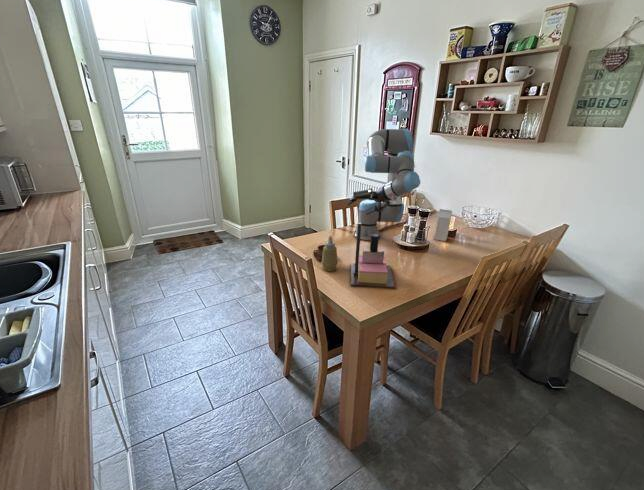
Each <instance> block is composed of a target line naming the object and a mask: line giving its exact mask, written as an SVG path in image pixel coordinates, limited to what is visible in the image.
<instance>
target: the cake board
mask: <svg viewBox="0 0 644 490" xmlns="http://www.w3.org/2000/svg"><path fill="white" fill-rule="evenodd" d="M357 226H358V228H357V227H356V228H357V238H356V243H355V245H356V246H355V258H354V263H350V287H354V288H355V287H357V288H371V289H392V290H395V289H396V286H395V281H394V277H393V274H392V269H391V266H390V264H389V265H388V264H386V266H387V270H388V277H387V284H381V283H363V282H359V281H358V263H359V255H360V248H361V239H360V235H361V223H358V222H357Z"/></svg>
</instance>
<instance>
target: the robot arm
mask: <svg viewBox="0 0 644 490" xmlns="http://www.w3.org/2000/svg"><path fill="white" fill-rule="evenodd" d="M413 141H414V139H413V133H412V131H411V130H409V129H403V128H402V129H401V128H399V129H398V128H397V129H396V128H382V129H378V130H376V131H373V133H371V134H370V135H369V136H368V138H367V140H366V148H367V150H368V155H366V156H365V159H364V172H366V173H371V174H387V180H386V184H385V185H382V186H380V187H378V189H377V190H376V191H375V190H373V188H368V189H364V190H357V191H353V192H352V196H351V197H349V198H348V199H347V200H346V205H347V206H349V205H351V204H353V203H356V202H357V201H358V200H362V201H360V203H359V207H358V222H357V224H358V223H361V235H360V241H371V235H372V234H378V235H379V236H380V233H379V232H381V231H383V230H384V229H387V228H391V227H395V226H399V225H402V224H406V223H408V222H407V221H408V220H405V221H402V219H403V216H404V210H405V204H404V203H403V200H402V199H401V196H402V195H404V194H405V195H406V194H407V193H410V192H413V191H414V190H416V189H417V188H419V187H420V185H421V179H420V175H419V174H418V173H417V172H416V171H415V157H414V154H413V143H414V142H413ZM385 152H387V155H385ZM434 212H436V209H433V210H432V211H430V212H429V213H430V214H432V213H434ZM401 221H402V222H401ZM379 222H381V223H382V222H383V223H392V224H391V225H387V226H384V227H382V228H381V229H378V223H379ZM393 223H394V224H393ZM357 228H358V225H357V226H356V229H355V230H354V237H355V238H356V239H357Z"/></svg>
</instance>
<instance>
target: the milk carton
mask: <svg viewBox="0 0 644 490" xmlns="http://www.w3.org/2000/svg"><path fill="white" fill-rule="evenodd" d="M452 213H453V210H451V209H443V208H439V211H438V215H437V219H436V220H437V221H436V226H435V231H434V236H433V239H434V240H436V241H442V242H447V240H448V235H449V230H450V225H451V219H452Z"/></svg>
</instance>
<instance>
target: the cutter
mask: <svg viewBox="0 0 644 490" xmlns="http://www.w3.org/2000/svg"><path fill="white" fill-rule="evenodd" d="M379 240H380V234H379V235H378V234H372V235H371V240H370V244H369V250H362V256H363V257H362V264H382V265H383V260H384V257H385V251H383V250H379Z"/></svg>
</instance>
